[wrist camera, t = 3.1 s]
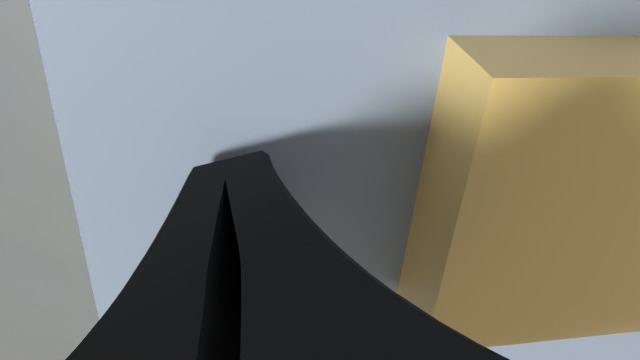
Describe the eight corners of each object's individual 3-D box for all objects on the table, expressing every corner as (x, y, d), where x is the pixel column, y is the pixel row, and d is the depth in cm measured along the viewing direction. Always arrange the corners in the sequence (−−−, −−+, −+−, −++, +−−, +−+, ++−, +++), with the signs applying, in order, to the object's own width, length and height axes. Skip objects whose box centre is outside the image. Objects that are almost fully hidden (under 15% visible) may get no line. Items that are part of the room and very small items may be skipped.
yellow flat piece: (832, 36, 11) (929, 73, 9) (697, 265, 14) (754, 319, 13) (447, 35, 9) (493, 78, 8) (397, 290, 13) (423, 354, 11)
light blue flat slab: (877, -208, 10) (1002, -209, 9) (612, 314, 18) (652, 365, 17) (9, -298, 8) (-43, -326, 6) (131, 362, 15) (123, 428, 14)
